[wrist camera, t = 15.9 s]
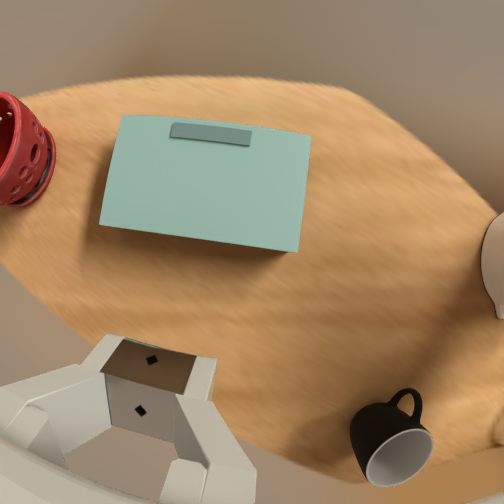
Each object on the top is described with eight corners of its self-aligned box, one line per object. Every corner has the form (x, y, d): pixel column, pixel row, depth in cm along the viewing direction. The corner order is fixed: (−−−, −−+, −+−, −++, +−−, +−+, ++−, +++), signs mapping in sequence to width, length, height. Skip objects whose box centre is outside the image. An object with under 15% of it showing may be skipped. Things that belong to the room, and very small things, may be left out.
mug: (380, 451, 38) (408, 489, 28) (330, 441, 38) (351, 485, 28) (419, 382, 39) (459, 410, 28) (370, 367, 38) (406, 398, 28)
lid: (309, 139, 32) (312, 134, 31) (295, 252, 32) (298, 252, 31) (125, 118, 32) (122, 113, 30) (102, 225, 31) (97, 224, 30)
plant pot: (39, 228, 36) (-19, 222, 24) (-12, 188, 36) (-66, 176, 24) (84, 139, 36) (37, 105, 24) (27, 110, 36) (-20, 79, 24)
